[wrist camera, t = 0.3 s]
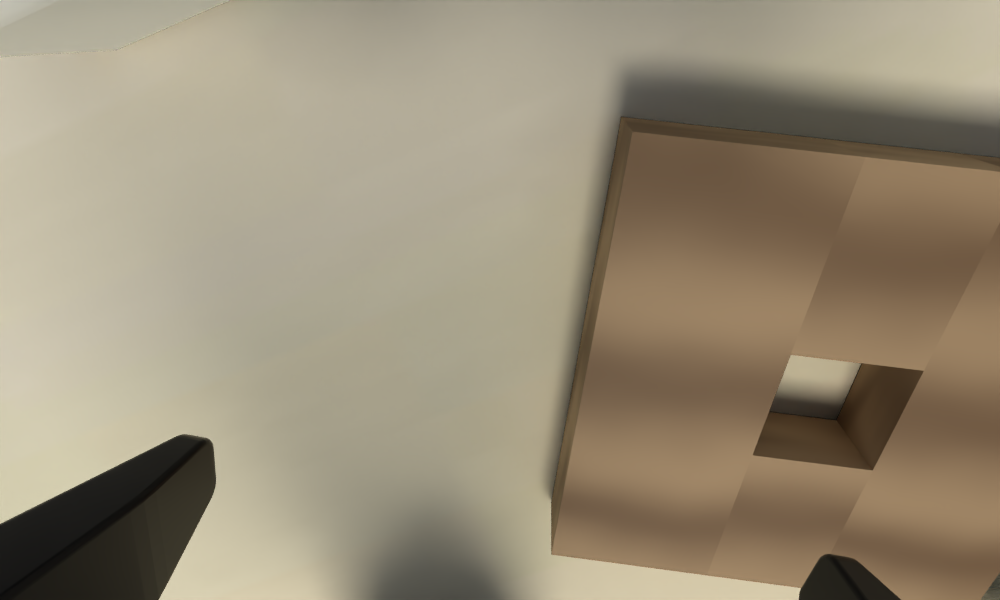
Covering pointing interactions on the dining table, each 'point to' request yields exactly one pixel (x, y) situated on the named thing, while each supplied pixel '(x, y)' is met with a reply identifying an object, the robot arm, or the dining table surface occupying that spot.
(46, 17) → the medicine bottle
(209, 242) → the dining table surface
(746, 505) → the socket block
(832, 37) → the dining table surface
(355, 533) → the dining table surface
